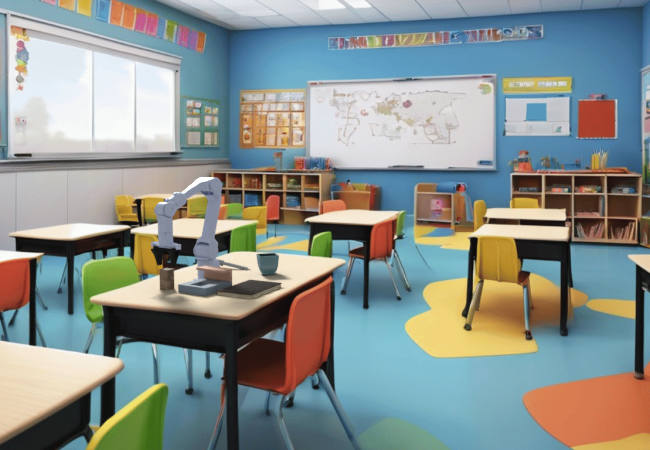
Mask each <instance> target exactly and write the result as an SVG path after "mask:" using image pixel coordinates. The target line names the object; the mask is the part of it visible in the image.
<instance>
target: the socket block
mask: <svg viewBox="0 0 650 450" xmlns="http://www.w3.org/2000/svg"><path fill="white" fill-rule="evenodd" d="M230 286H233V280H232V281H224V280H217V279H210V278H201V279H197V280H194V279H193V280H189V281H187V282H186V281H185V282H182V283H178V284H177V290H178V293H183V294H190V295H197V296H202V297H207V296H210V295H215V294H216V292H217V291H218V290H221V289H224V288H227V287H230Z"/></svg>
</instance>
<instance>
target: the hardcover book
mask: <svg viewBox="0 0 650 450" xmlns="http://www.w3.org/2000/svg"><path fill="white" fill-rule="evenodd" d="M282 284H283V282H277V281H276V282H275V281H270V280H269V281H268V280H257V279H247V280H245V281H244V280H243V281H242V282H238V283H235V284H232V286H230V287H227V288H224V289H221V290H218V291H217V292H216V293H215V294H216V296H224V297H232V298H233V297H234V298H241V299H250V300H251V299H254V298H257V297H259V296H262V295H264V294H267V293H270V292H273V291H274V289H275V290H277V289H279V288H278V287H280V288H281V287H282ZM276 288H277V289H276ZM269 291H270V292H269Z"/></svg>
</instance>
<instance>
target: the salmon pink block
mask: <svg viewBox="0 0 650 450" xmlns="http://www.w3.org/2000/svg"><path fill="white" fill-rule="evenodd" d="M198 270H200V271H204V278H210V279H217V280H224V281H232V282H233V268H232V267H231V268H229V267H223V266H220V267H214V266H206V265H205V266H201V267H198V266H197V267H196V271H198Z"/></svg>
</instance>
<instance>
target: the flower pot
mask: <svg viewBox="0 0 650 450" xmlns="http://www.w3.org/2000/svg"><path fill="white" fill-rule="evenodd" d="M279 260H280V255H279V254H277V253H276V252H265V253H256V262H257V263H256V264H257V266H258V269H259V270H258V271H259V272H260V273H261V274H262V275H263V276H270V275H272V276H273V274H274V275H275V274H276V273H277V270H278V267H279Z"/></svg>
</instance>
